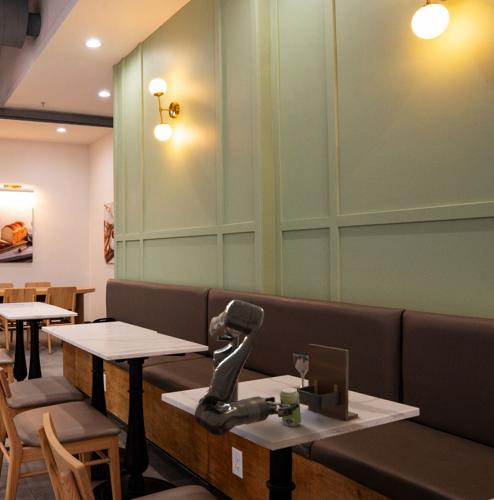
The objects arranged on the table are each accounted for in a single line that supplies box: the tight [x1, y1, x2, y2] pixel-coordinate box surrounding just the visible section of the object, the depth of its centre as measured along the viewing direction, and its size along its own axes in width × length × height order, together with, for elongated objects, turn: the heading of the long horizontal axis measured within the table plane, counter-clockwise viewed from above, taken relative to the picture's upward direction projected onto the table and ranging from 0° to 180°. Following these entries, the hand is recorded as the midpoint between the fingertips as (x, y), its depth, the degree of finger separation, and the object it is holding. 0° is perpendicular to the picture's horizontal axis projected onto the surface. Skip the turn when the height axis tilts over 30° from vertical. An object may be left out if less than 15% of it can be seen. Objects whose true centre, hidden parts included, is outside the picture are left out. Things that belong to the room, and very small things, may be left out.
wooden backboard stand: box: [294, 343, 359, 422], centre depth 180 cm, size 19×15×24 cm
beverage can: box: [279, 386, 302, 427], centre depth 171 cm, size 6×7×12 cm
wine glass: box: [292, 351, 308, 388], centre depth 218 cm, size 8×8×15 cm
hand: (284, 403), depth 169 cm, fingers open, 8 cm apart
